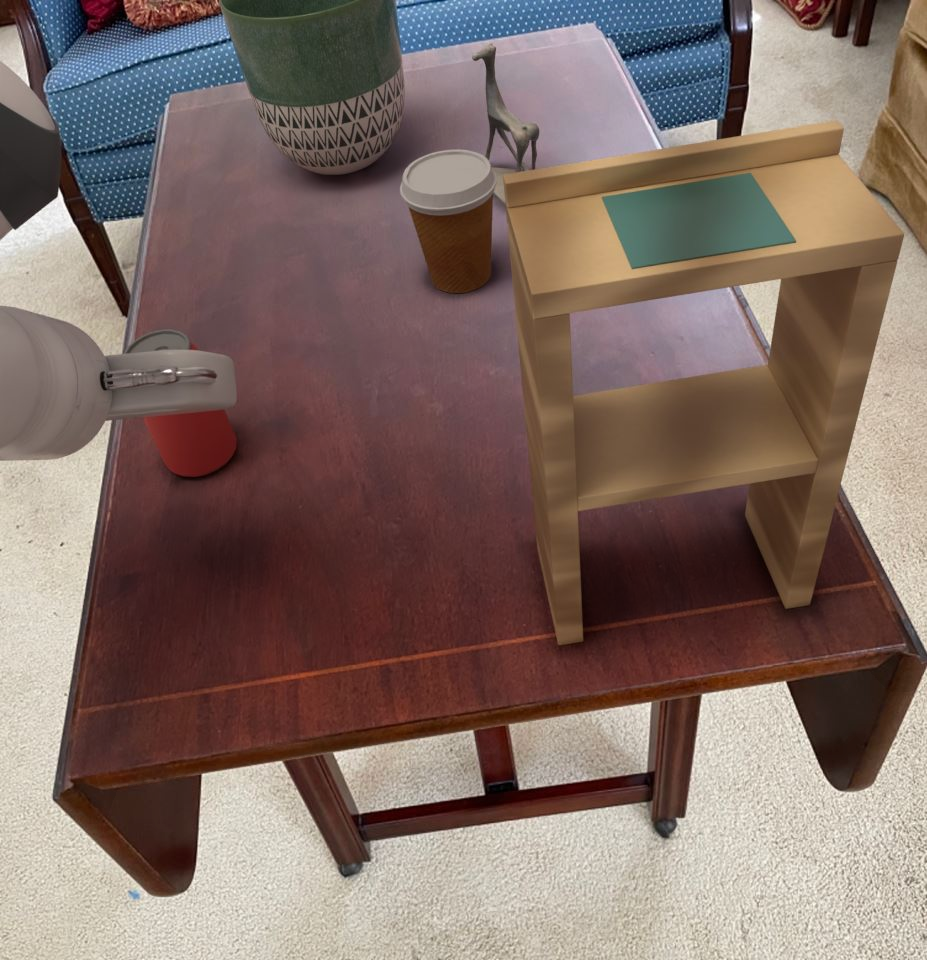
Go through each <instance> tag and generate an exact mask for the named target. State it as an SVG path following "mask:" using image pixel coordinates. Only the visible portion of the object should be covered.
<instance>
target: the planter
mask: <svg viewBox="0 0 927 960" xmlns="http://www.w3.org/2000/svg"><path fill="white" fill-rule="evenodd" d="M218 4H219V8H220V11H221V14H222V17H223V21H224V23H225V27H226V29H227V32H228V35H229V38H230V41H231V43H232V46H233V49H234V51H235V56H236V58H237V61H238V63H239V68H240V70H241V73H242V75H243V78H244V81H245V84H246V87H247V90H248V93H249V96H250V98H251V102H252V104H253V106H254V110H255V112H256V115H257V117H258V120H259V122H260V124H261V126H262V127H263V130H264V131H265V134H266V135H267V136H268V138H269V140H270V141H271V143H272V144H273V145H274V146H275V148H276V149H277V151H279V152H280V153H281V154H282V155H283V156H284V157H285V158H287V159H288V160H289V161H291V162H292V163H293V164H295V165H297V166H299V167H300V168H303V169H304V170H308V171H309V172H313V173H315V174H318V175H319V174H320V175H325V176H340V175H341V176H343V175H348V174H352V173H355V172H358V171H361V170H363V169H365V168H367V167H369V166H370V165H372V164H374V163H375V162H377V161H378V160H379V159H380V158H381V157H382V156H383V155H384V154H385V152H387V150H388V149H389V148H390V146H391V145H392V143H393V142H394V140H395V138H396V137H397V134H398V133H399V130H400V127H401V125H402V121H403V116H404V110H405V97H406V89H405V88H406V87H405V73H404V65H403V55H402V45H401V44H402V43H401V36H400V28H399V27H400V26H399V18H398V9H397V8H398V7H397V0H218Z"/></svg>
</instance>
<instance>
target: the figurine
mask: <svg viewBox="0 0 927 960" xmlns="http://www.w3.org/2000/svg"><path fill="white" fill-rule="evenodd" d="M496 52H497V47H496V46H494V45H493V43H489V44H488V45H485V46H484V47H483V48H482V49H481V50H479V51H477V52H474V53H472V56H471V59H472V61H474V62H478V61H479V60H482V61H483V63H484V65H485V102H486V113H487V117H488V118H487V119H488V127H489V132H488V133H489V136H488V142H487V147H486V150H485V151H486V152H485V155H484V157H486V158H487V159H488V161H489V162H490V157H491V152H492V149H493V145H494V138H495V135H496V131H497V134H498V135H499V136H500V138H501V139H502V140H503V142H504V144H505V146H506V147H507V148H508V150H509V152H510V153H511V154H512V156H513V158H514V159H515V162H516V167H515V169H514V168H513V169H512V168H504V167H494V166H491V168H492V169H493V170H494V171H495V173H496V176H497V183H496V186H495V190H494V192H493V196H495V198H497V200H498V201H499V202H501V204H503V205H504V206H505V207H506V205H505V194H504V183H503V175H504V174H511V173H517V172H523V171H529V170H535V169H536V162H537V157H538V149H537V141H538V140H539V137H540V127H539V125H538V124H537V123H536V122H535V121H526V122H522V121H521V119H520V118H519V117H517V116H516V115H515V114H514V113H513V112H511V111H509V109H508V108H507V106H506V104H505V102H504V100H503V99H504V98H503V97H502V94H501V92H500V89H499V86H498V84H497V78H496V68H495V67H496V65H495V63H496V55H497V54H496ZM506 132H508V133H510V135H511V137H512V139H513V141H514V144H515V147H516V150H515V149H514V147H513V145H512V143H511V142H510V140H509V137H508V136H507V134H506ZM530 145H531V147H530V148H531V165H530V166H531V167H530V168H531V169H530V168H529V167H528V166H527V165H526V164H525V163H524V162H523V160H524V156H525V154H526V152H527V151H528V148H529V146H530Z"/></svg>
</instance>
